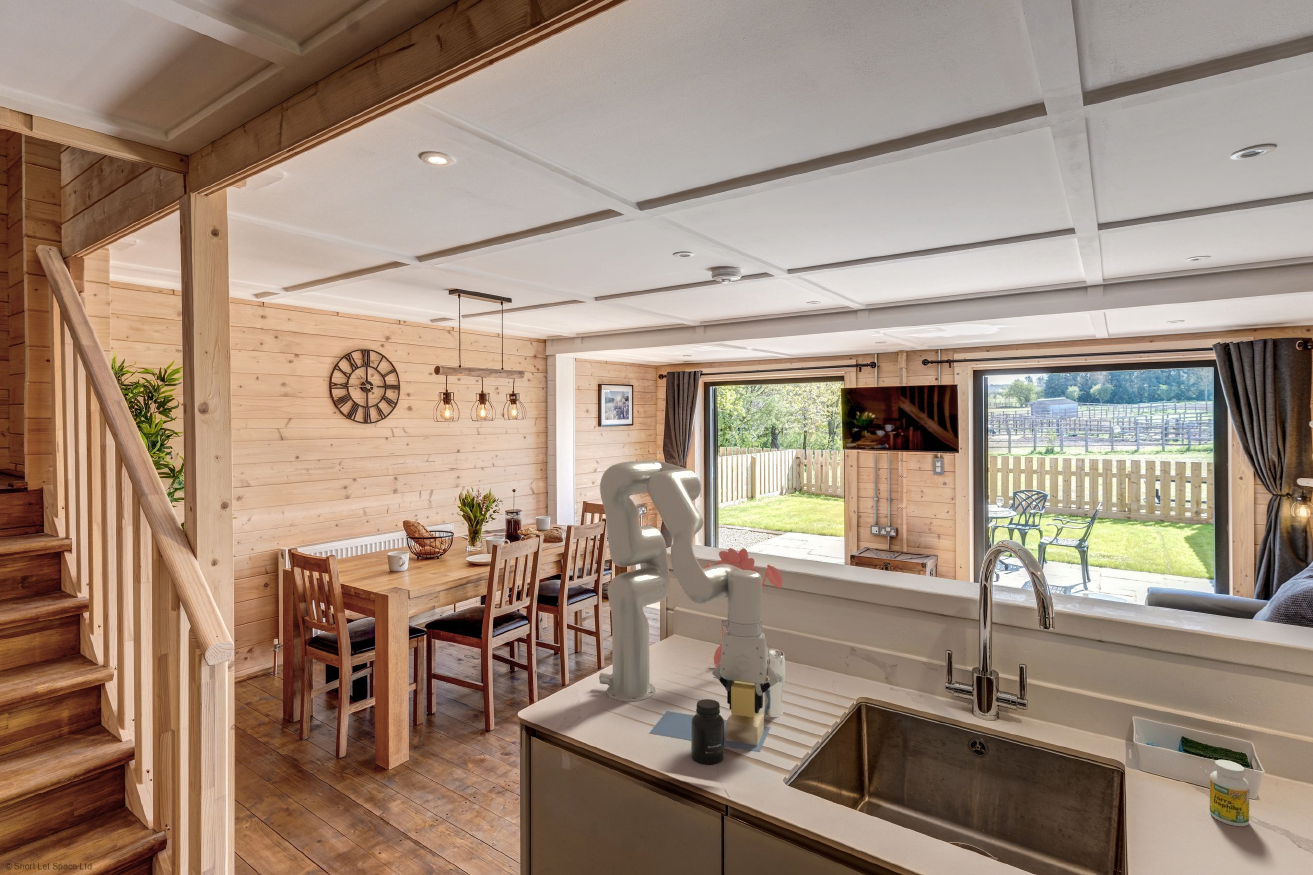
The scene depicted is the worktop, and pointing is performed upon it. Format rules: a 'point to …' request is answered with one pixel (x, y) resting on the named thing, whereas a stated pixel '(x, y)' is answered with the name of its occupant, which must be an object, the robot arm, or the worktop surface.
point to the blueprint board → (681, 728)
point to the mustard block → (743, 699)
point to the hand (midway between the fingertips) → (745, 708)
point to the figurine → (743, 563)
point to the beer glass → (774, 693)
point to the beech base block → (745, 728)
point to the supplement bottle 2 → (1229, 793)
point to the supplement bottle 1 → (707, 733)
